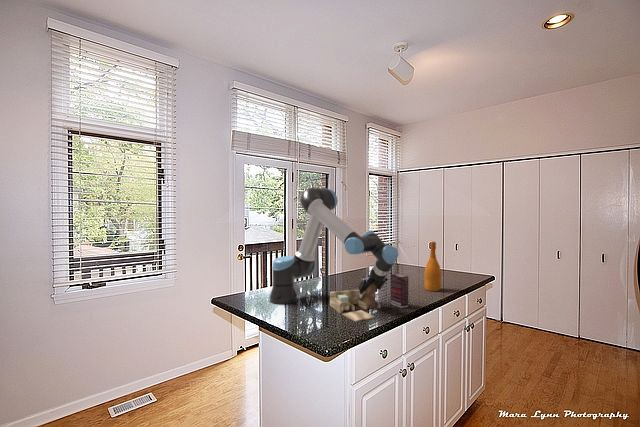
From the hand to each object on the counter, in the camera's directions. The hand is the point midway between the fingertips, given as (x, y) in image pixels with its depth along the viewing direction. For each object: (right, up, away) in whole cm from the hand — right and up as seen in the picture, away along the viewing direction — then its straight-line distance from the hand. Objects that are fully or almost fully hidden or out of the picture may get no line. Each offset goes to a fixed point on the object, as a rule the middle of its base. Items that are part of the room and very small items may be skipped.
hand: (364, 295), depth 180 cm
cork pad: (-6, -5, -20) cm, 21 cm away
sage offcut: (-12, -1, -8) cm, 15 cm away
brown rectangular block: (+1, -4, -3) cm, 6 cm away
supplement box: (+18, -5, -2) cm, 19 cm away
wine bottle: (+46, -4, +31) cm, 56 cm away
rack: (-5, -4, -5) cm, 8 cm away
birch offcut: (-12, -5, -8) cm, 15 cm away
